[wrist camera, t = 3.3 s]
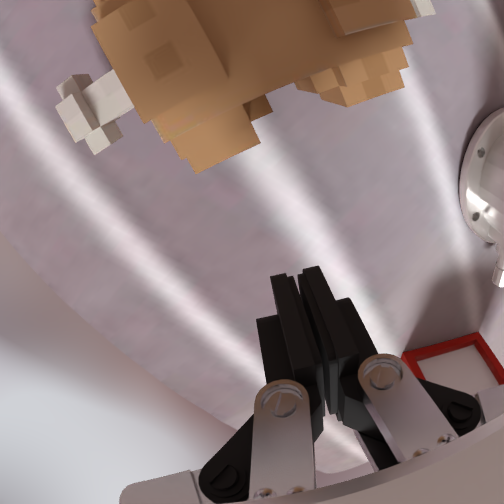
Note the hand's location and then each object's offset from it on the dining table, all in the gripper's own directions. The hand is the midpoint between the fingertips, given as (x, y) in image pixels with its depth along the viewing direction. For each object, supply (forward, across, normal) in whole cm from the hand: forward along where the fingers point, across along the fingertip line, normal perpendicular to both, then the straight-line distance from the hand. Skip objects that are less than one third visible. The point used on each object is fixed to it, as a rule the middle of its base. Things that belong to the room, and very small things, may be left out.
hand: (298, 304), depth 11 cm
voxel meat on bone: (+12, -1, -10) cm, 16 cm away
